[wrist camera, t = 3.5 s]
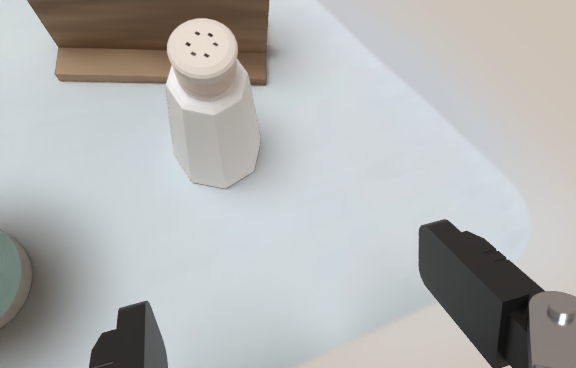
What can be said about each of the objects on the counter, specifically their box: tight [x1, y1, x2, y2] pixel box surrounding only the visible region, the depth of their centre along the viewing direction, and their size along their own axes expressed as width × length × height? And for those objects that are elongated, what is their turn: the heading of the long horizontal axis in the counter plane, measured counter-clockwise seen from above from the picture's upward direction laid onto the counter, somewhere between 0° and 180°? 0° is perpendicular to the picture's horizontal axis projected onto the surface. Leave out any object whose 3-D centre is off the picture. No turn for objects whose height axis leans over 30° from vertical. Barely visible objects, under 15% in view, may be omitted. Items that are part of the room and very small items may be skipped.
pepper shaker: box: [166, 18, 261, 189], centre depth 23 cm, size 5×5×11 cm
